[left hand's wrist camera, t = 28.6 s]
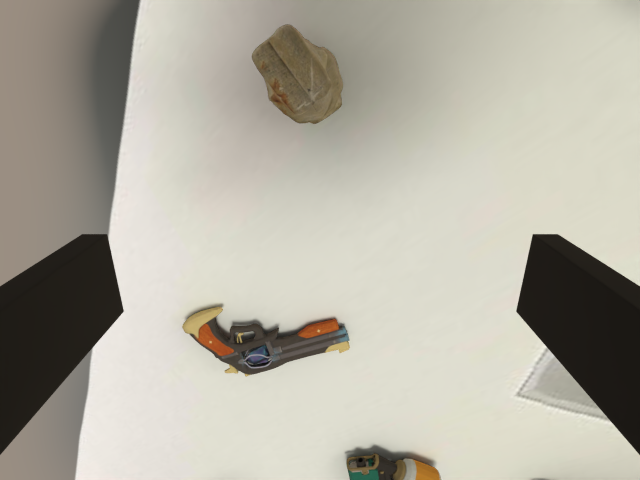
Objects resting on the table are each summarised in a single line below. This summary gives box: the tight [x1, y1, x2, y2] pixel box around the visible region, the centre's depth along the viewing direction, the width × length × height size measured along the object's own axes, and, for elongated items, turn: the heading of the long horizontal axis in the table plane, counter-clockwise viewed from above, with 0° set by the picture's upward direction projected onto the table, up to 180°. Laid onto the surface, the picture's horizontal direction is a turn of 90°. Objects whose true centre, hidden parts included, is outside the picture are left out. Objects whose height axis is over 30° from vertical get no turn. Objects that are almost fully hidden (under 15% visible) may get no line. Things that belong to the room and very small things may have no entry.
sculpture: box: [252, 24, 343, 124], centre depth 32 cm, size 6×7×15 cm
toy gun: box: [182, 307, 350, 376], centre depth 48 cm, size 3×19×10 cm
